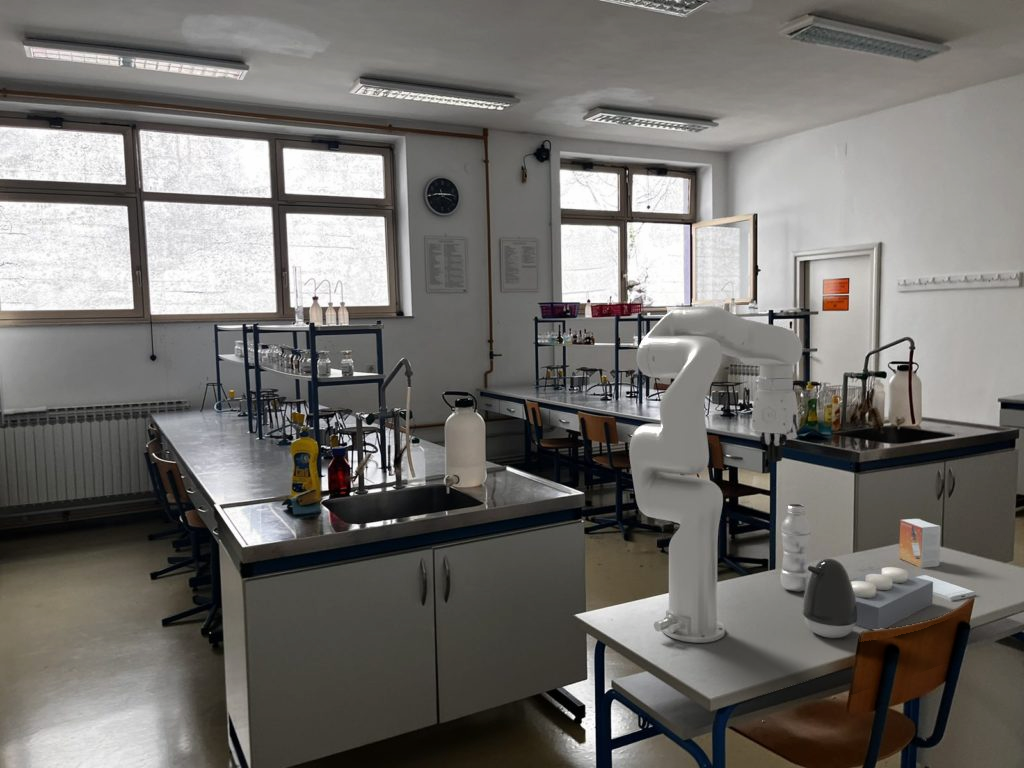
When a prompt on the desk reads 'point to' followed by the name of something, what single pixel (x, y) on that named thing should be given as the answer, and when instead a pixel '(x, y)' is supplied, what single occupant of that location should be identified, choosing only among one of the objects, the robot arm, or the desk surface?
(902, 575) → the knob far
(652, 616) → the desk surface
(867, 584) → the knob near
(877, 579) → the knob mid
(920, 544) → the small box
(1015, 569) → the desk surface
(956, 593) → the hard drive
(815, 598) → the dark grey penguin figure
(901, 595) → the housing
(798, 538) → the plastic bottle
